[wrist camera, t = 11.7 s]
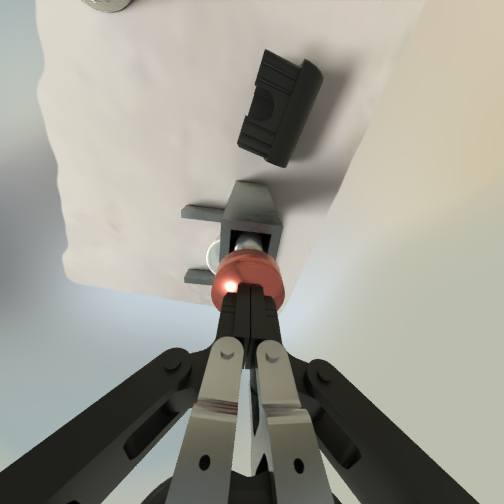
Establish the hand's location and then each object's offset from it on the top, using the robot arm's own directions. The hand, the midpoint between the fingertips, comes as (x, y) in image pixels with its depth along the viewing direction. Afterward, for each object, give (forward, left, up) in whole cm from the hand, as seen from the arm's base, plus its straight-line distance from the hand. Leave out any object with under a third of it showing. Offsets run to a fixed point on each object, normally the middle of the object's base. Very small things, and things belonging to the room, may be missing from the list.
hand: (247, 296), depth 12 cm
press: (+7, -3, -24) cm, 25 cm away
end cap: (-11, +2, -24) cm, 27 cm away
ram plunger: (0, 0, -11) cm, 11 cm away
